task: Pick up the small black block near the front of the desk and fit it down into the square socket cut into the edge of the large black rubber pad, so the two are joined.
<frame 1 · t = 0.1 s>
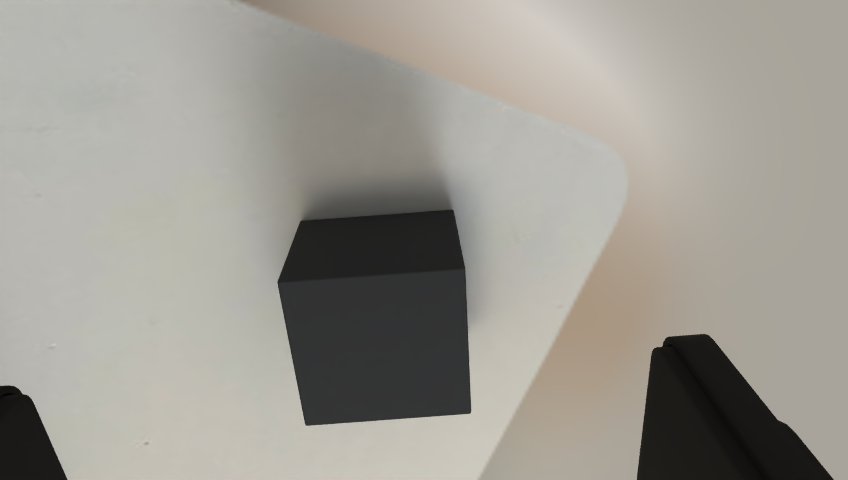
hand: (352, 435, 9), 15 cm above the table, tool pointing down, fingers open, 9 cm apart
connector pad: (384, 281, 26), on the table
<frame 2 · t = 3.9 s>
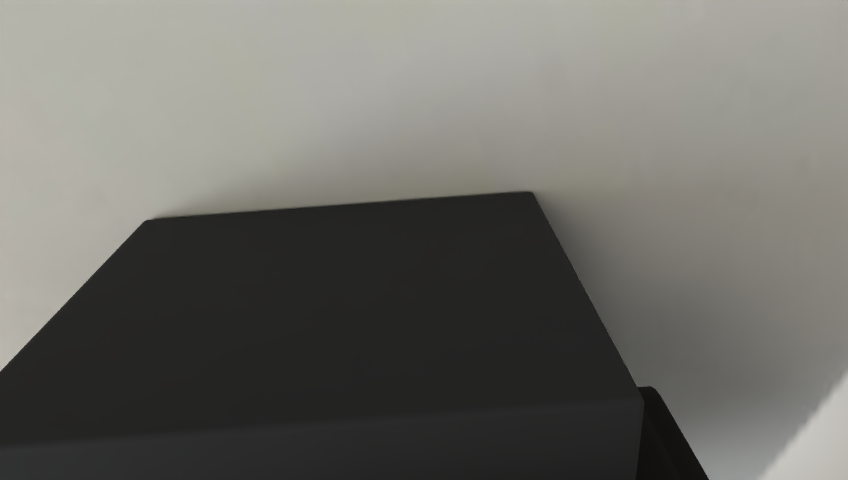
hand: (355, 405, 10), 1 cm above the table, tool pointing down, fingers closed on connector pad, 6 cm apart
connector pad: (360, 362, 11), on the table, touching gripper
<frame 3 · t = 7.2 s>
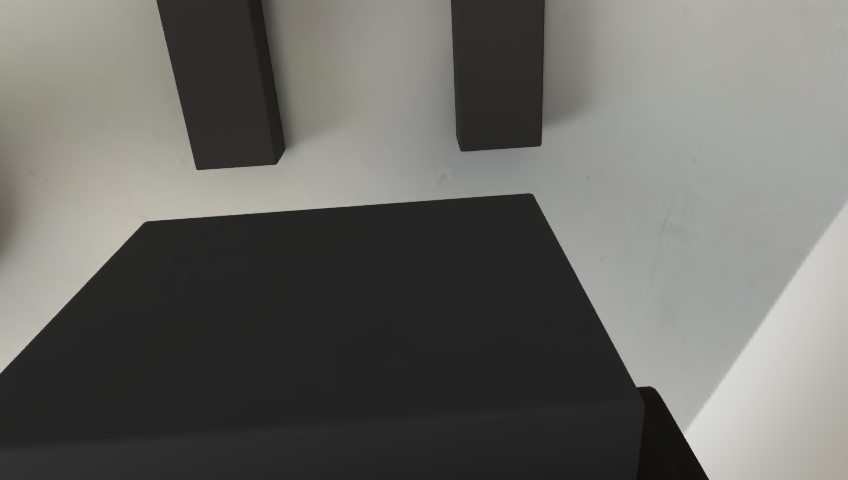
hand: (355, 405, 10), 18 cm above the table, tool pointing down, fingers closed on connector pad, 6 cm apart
connector pad: (360, 363, 11), point 17 cm above the table, touching gripper
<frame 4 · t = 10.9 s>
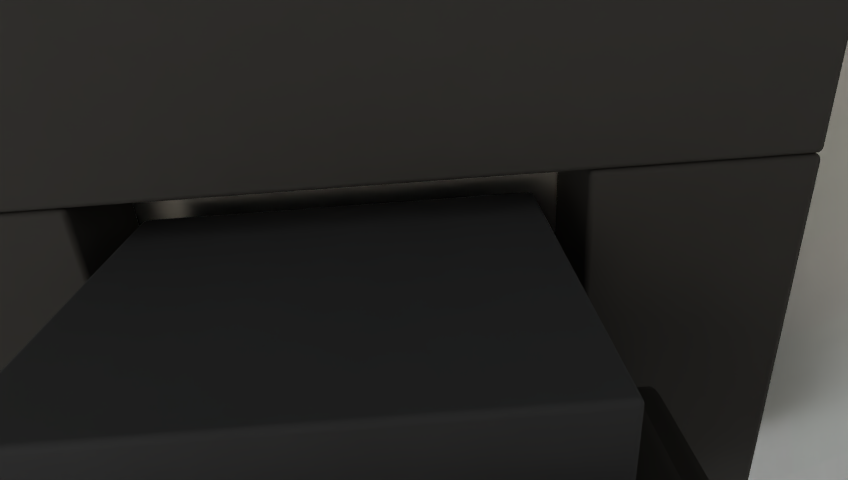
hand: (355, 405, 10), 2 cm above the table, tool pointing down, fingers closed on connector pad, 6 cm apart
base pad: (343, 171, 10), on the table
connector pad: (360, 363, 11), point 1 cm above the table, touching gripper
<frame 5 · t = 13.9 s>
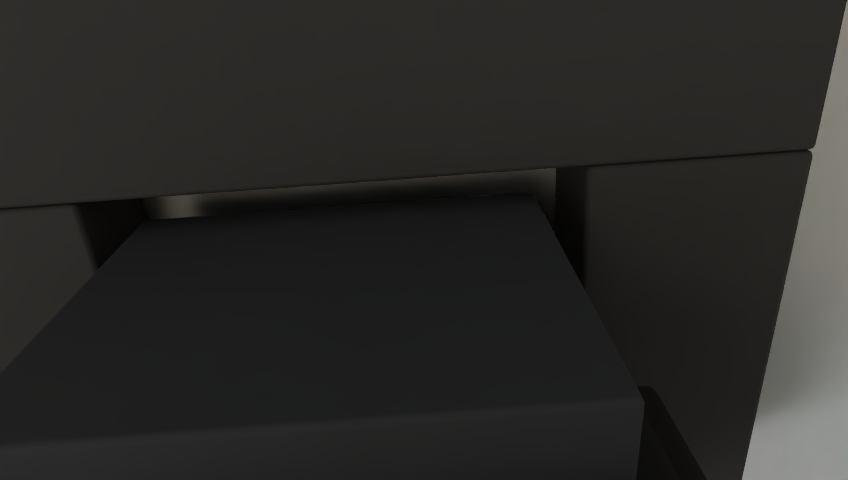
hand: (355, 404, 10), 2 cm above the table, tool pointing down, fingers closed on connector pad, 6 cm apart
base pad: (346, 168, 11), on the table
connector pad: (360, 362, 11), point 1 cm above the table, touching gripper
when the fingers open (3 cm above the table, at t = 16.8 s): connector pad drops 2 cm, on the table.
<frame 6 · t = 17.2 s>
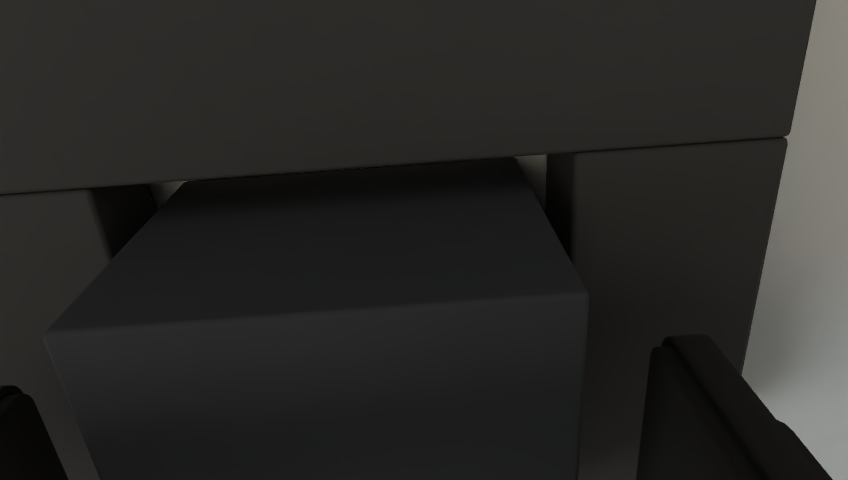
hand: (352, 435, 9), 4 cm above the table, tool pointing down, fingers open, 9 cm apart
base pad: (346, 156, 11), on the table
connector pad: (367, 310, 13), on the table
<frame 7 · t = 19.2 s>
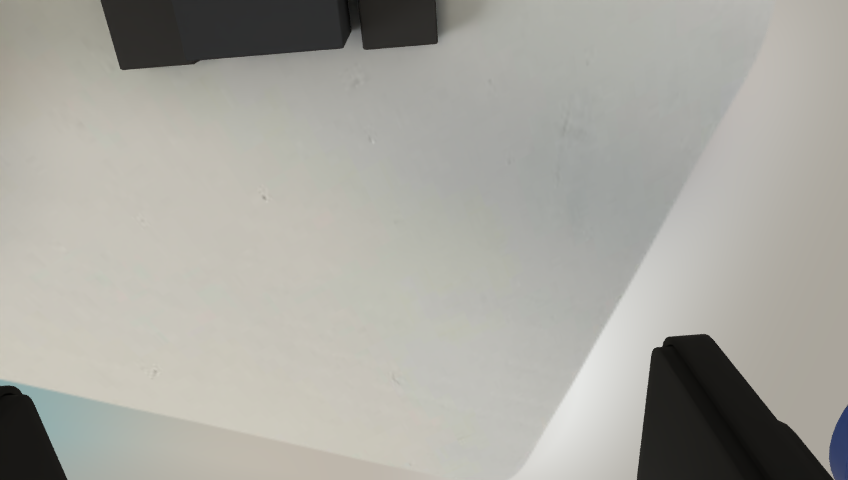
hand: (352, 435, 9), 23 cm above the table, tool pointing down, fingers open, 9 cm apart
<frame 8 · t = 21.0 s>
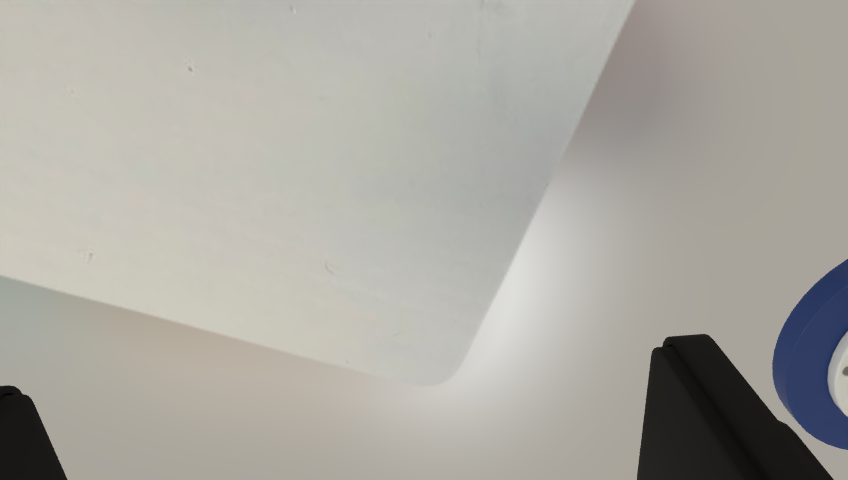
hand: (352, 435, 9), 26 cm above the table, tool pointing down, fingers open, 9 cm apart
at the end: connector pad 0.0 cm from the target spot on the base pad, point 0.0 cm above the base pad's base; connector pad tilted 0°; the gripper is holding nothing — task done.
